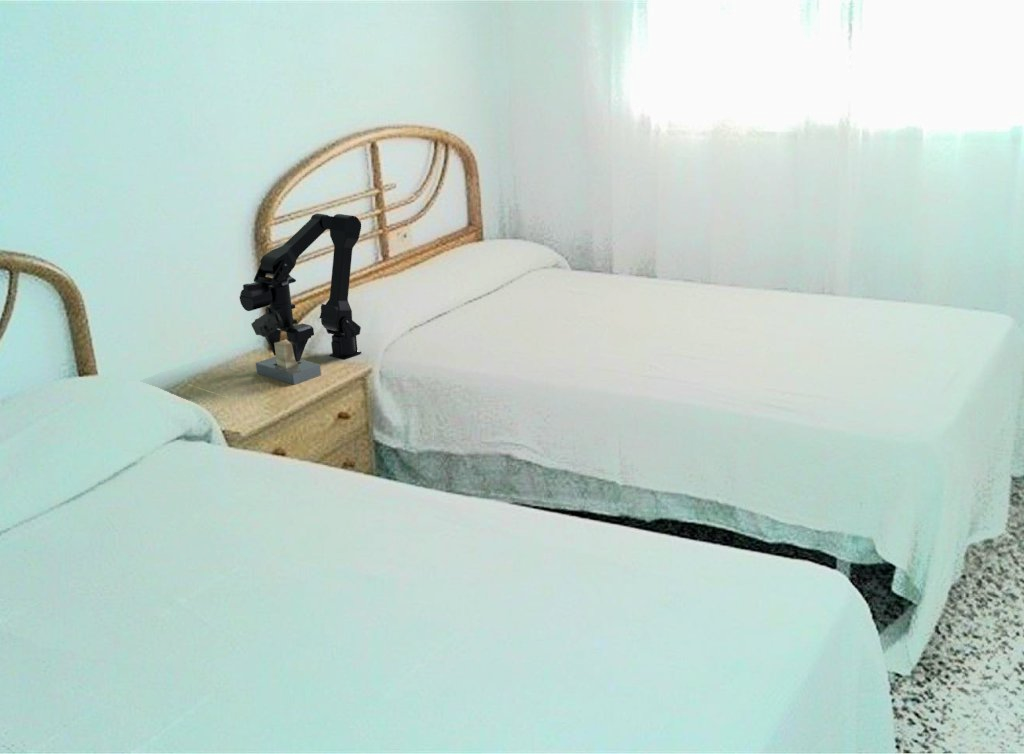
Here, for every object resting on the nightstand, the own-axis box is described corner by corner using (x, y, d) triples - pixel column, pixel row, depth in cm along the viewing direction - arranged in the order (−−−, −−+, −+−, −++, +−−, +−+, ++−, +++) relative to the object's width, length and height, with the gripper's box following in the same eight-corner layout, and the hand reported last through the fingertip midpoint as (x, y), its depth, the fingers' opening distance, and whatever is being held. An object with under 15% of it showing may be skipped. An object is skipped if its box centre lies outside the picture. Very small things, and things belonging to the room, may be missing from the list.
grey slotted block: (283, 364, 286) (282, 354, 285) (321, 375, 276) (319, 364, 275) (257, 373, 280) (255, 362, 279) (294, 384, 270) (292, 373, 269)
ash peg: (290, 371, 281) (286, 339, 278) (299, 373, 278) (295, 341, 275) (278, 375, 278) (274, 343, 275) (287, 377, 276) (283, 345, 273)
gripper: (233, 304, 272) (241, 360, 277) (277, 314, 260) (284, 373, 265) (267, 294, 279) (274, 349, 285) (312, 304, 268) (318, 361, 273)
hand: (287, 358), depth 277 cm, fingers open, 9 cm apart
